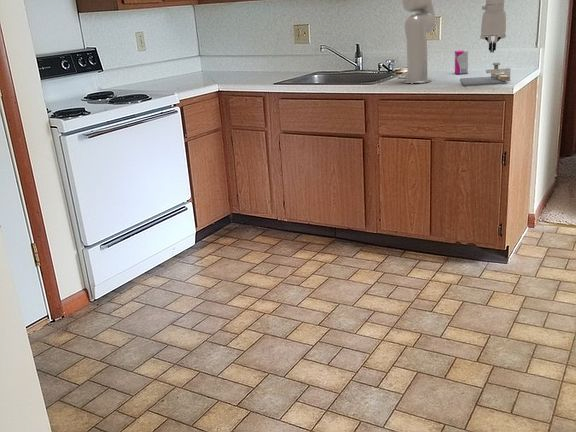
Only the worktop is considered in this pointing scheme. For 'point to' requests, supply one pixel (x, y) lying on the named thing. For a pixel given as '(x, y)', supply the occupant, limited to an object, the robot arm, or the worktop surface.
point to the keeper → (499, 71)
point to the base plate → (481, 81)
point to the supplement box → (461, 62)
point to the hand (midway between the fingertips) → (492, 52)
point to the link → (499, 74)
